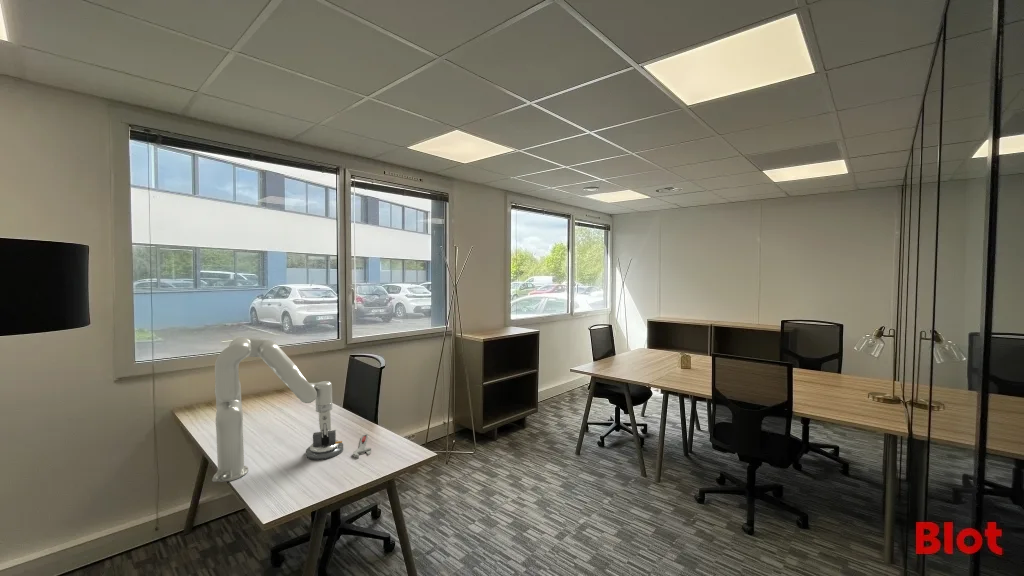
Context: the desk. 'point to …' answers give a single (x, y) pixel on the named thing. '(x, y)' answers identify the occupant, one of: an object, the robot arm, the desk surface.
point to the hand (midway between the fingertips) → (324, 442)
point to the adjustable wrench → (362, 447)
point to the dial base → (324, 455)
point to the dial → (318, 447)
